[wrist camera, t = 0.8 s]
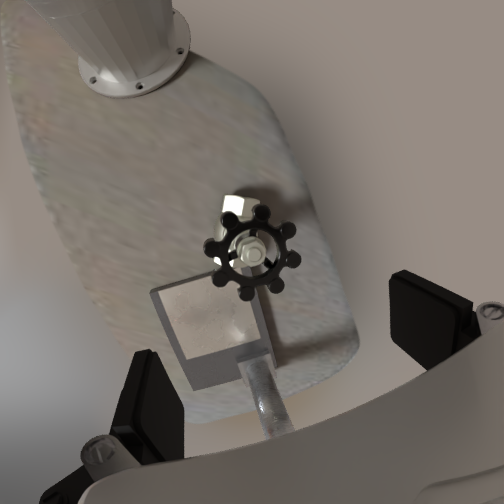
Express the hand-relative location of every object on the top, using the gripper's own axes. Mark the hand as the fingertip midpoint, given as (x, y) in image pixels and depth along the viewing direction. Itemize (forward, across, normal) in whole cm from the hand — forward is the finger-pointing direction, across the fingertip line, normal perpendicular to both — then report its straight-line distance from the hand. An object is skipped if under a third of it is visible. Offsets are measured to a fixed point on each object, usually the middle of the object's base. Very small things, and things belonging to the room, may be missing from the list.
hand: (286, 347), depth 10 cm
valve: (+22, -1, -1) cm, 22 cm away
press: (+22, +4, +9) cm, 24 cm away
